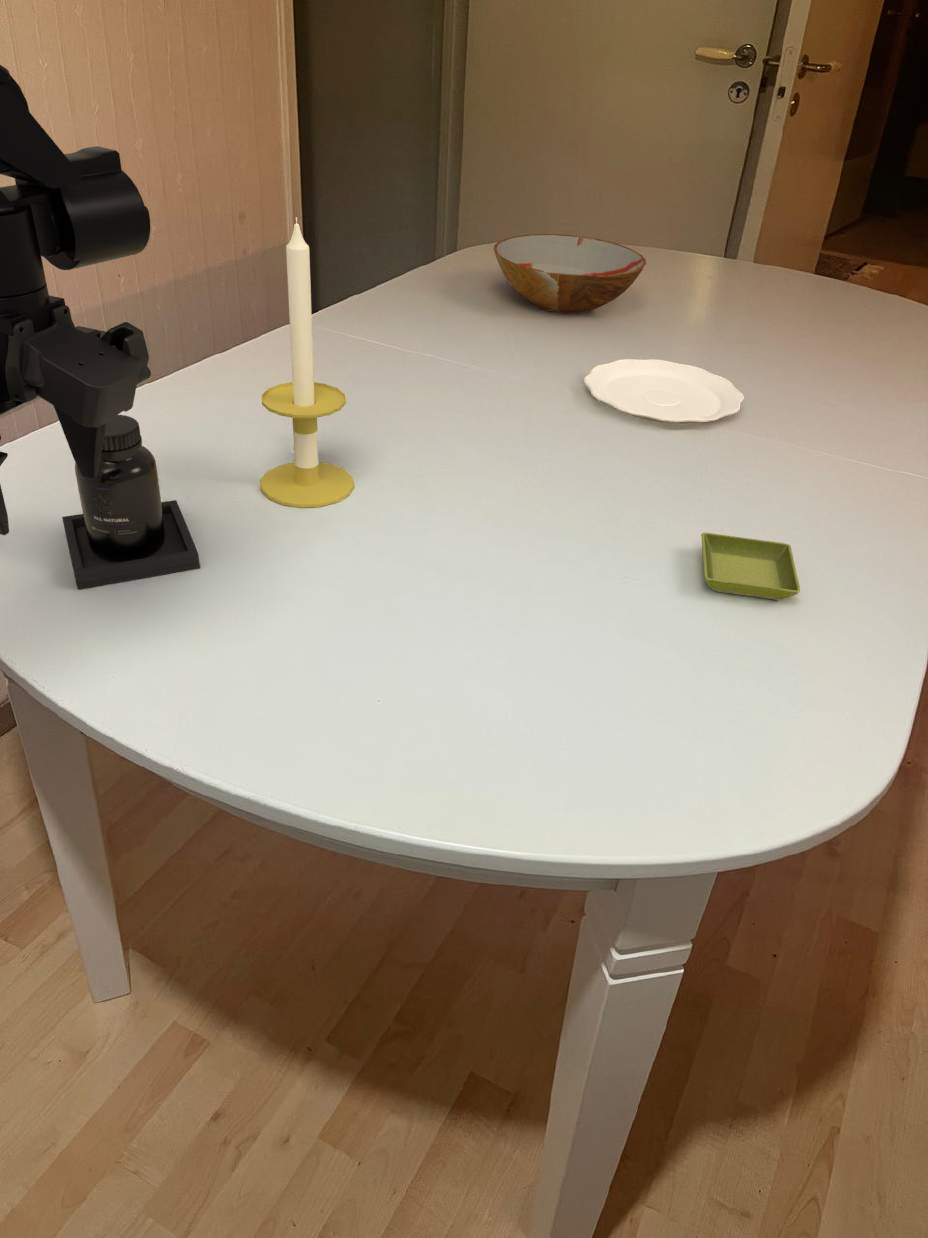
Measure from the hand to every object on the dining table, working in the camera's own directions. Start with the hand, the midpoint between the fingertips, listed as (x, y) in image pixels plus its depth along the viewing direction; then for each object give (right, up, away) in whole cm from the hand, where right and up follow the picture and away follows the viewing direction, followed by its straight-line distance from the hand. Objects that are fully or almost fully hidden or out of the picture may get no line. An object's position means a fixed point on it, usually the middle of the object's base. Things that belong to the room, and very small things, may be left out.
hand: (48, 503), depth 67 cm
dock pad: (-1, -2, +20) cm, 20 cm away
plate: (+57, +21, +57) cm, 83 cm away
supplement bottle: (-1, -2, +19) cm, 19 cm away
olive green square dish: (+57, -5, +22) cm, 61 cm away
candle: (+13, +6, +32) cm, 35 cm away
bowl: (+47, +45, +89) cm, 111 cm away
